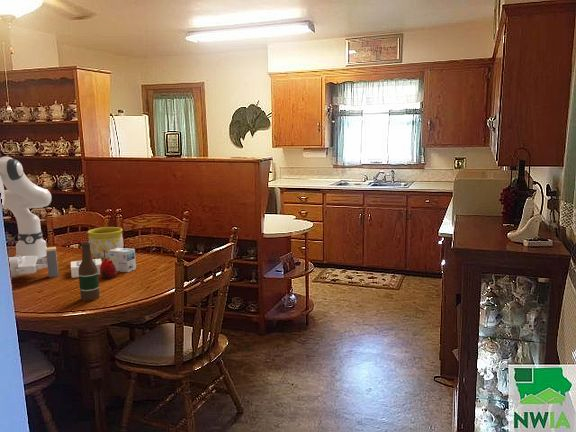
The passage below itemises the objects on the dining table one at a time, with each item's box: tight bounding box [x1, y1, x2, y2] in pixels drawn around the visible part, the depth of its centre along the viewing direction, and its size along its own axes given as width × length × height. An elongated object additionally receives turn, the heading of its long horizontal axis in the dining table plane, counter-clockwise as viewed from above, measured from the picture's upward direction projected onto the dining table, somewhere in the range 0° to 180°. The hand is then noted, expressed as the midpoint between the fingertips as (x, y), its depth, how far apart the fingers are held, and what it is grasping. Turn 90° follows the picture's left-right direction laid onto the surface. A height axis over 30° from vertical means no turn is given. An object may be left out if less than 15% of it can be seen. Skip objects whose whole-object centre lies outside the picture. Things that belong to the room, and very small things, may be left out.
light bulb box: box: [110, 247, 137, 273], centre depth 238 cm, size 11×7×11 cm, turn 71°
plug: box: [46, 246, 59, 279], centre depth 229 cm, size 4×4×14 cm
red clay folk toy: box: [99, 249, 117, 280], centre depth 226 cm, size 8×7×15 cm
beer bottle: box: [78, 241, 100, 302], centre depth 196 cm, size 8×8×24 cm
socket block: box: [70, 259, 102, 279], centre depth 235 cm, size 12×14×5 cm
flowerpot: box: [87, 226, 124, 262], centre depth 259 cm, size 18×18×16 cm
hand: (47, 262), depth 228 cm, fingers open, 8 cm apart
